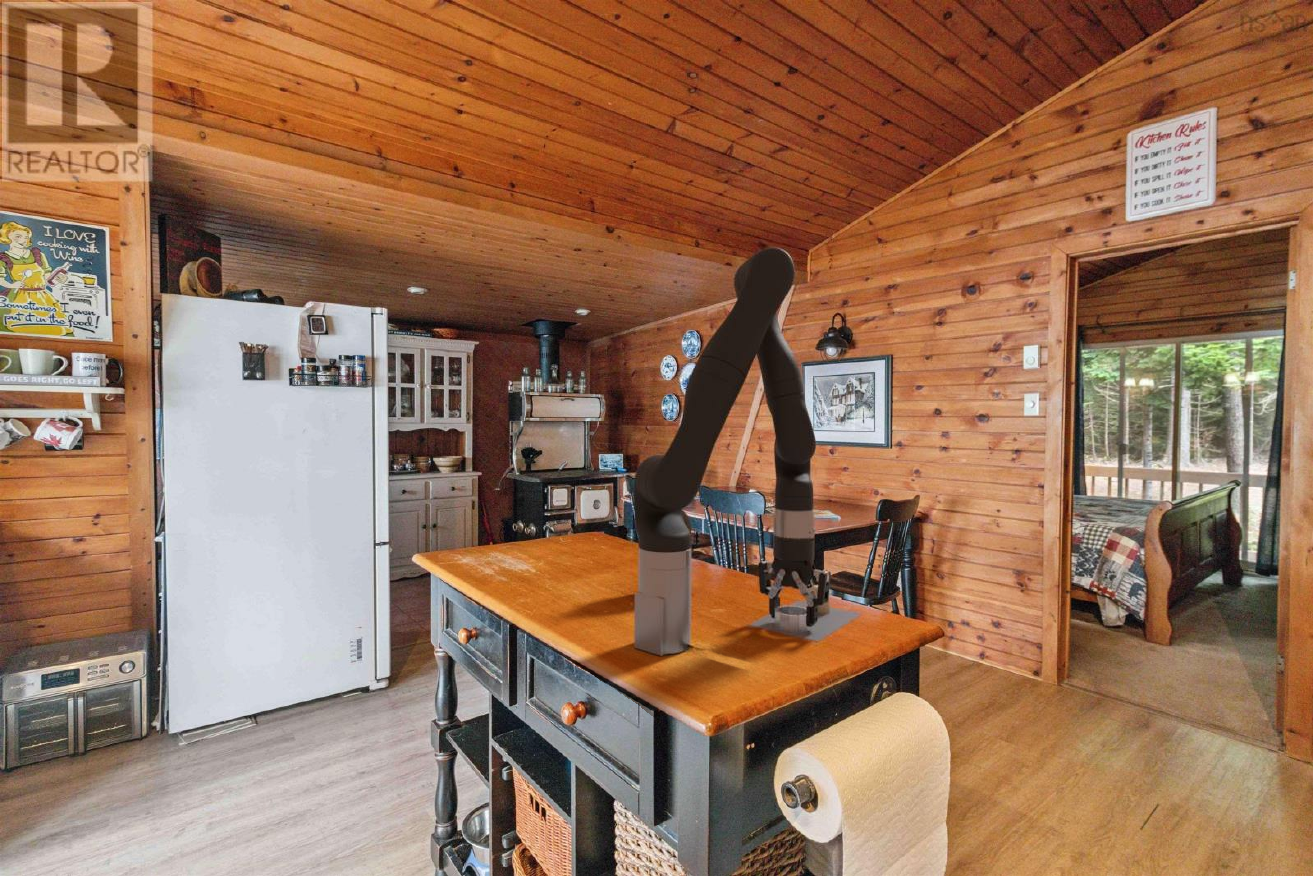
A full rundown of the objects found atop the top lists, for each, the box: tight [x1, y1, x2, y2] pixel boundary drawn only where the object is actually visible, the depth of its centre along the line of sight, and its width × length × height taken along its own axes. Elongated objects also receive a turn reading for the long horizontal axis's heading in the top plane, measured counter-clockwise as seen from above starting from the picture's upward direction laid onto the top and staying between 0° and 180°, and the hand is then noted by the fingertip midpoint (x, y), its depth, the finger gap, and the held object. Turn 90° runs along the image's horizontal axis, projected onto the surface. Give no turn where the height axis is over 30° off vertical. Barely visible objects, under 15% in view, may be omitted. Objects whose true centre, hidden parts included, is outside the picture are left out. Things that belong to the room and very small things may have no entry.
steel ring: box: [775, 604, 811, 633], centre depth 113 cm, size 7×7×3 cm
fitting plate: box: [747, 584, 863, 643], centre depth 118 cm, size 21×14×6 cm, turn 140°
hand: (792, 621), depth 113 cm, fingers closed on steel ring, 6 cm apart
